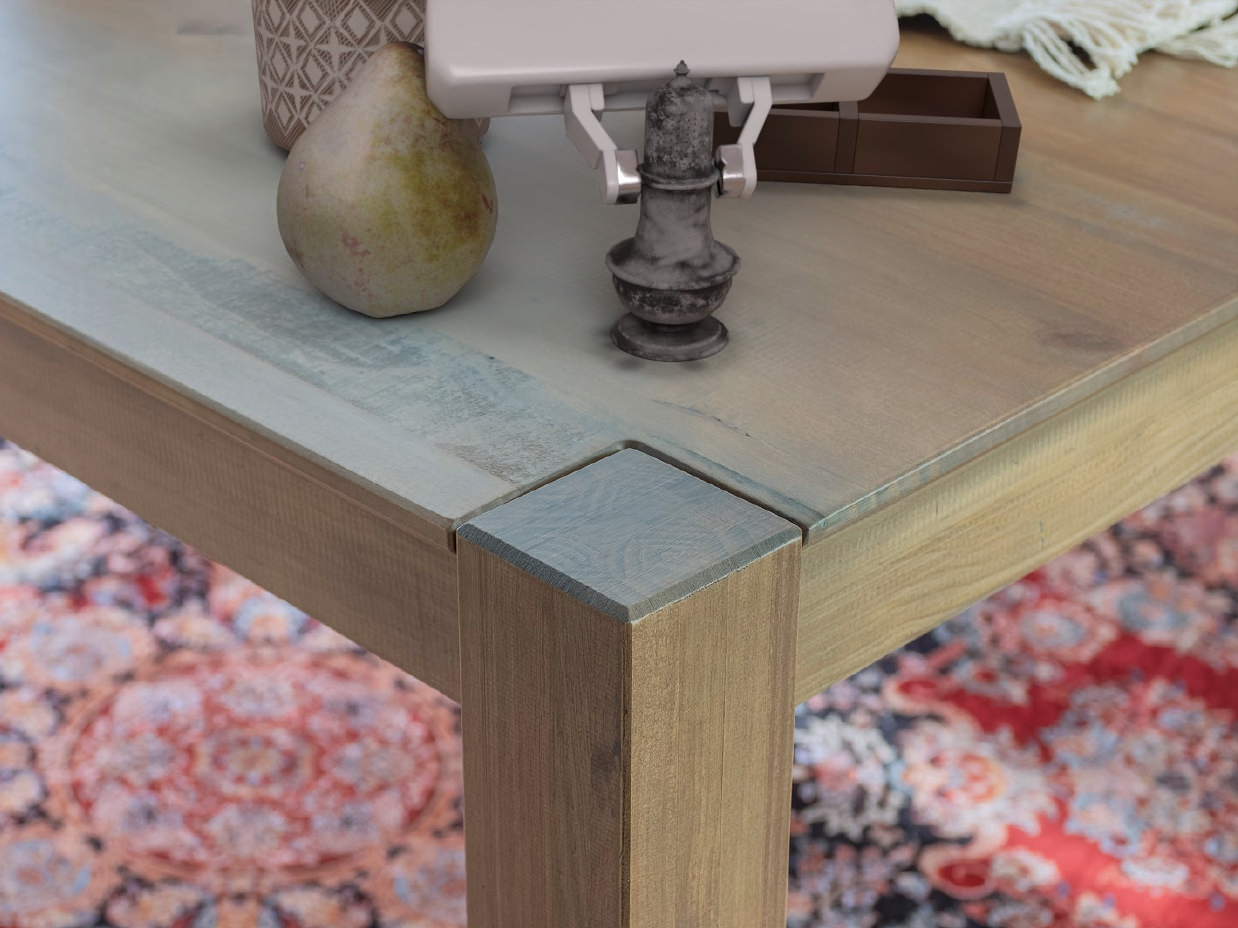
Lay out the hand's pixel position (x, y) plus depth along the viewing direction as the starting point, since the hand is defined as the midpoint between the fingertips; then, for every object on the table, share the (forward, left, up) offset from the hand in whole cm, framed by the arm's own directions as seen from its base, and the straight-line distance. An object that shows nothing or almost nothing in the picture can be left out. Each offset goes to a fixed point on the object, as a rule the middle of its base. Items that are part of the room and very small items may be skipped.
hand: (680, 196), depth 69 cm
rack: (-8, -26, -7) cm, 27 cm away
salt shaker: (0, -1, -7) cm, 7 cm away
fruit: (+13, -3, -7) cm, 15 cm away
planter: (+18, -24, -7) cm, 31 cm away
